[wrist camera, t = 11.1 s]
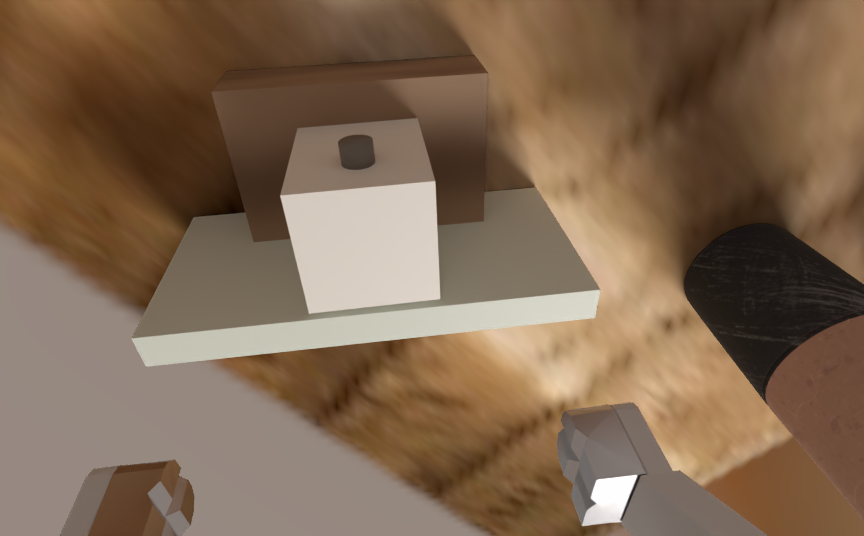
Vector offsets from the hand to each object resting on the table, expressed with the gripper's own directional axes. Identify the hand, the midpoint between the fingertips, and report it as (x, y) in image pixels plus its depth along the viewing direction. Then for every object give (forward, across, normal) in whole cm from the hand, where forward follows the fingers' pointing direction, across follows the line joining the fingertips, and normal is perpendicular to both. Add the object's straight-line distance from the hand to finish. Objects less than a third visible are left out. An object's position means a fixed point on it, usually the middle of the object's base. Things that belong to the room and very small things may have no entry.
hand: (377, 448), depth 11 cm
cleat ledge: (+17, 0, 0) cm, 17 cm away
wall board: (+17, 0, +5) cm, 18 cm away
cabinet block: (+14, 0, +1) cm, 14 cm away
